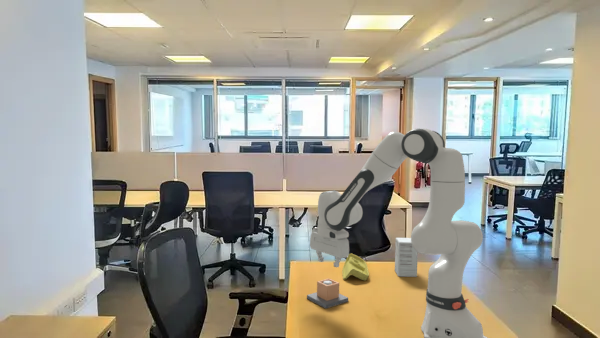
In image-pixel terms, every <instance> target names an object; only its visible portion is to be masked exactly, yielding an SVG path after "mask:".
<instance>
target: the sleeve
mask: <svg viewBox="0 0 600 338" xmlns="http://www.w3.org/2000/svg"><path fill="white" fill-rule="evenodd" d="M324 281H331V282H332V284H331V285H326V284H323V282H324ZM316 292H317V296H319V297H321V298H322V299H324V300H326V301H328V300H331V299H335V298H338V297H339V294H340V282H338V281H336V280H333V279H331V278H325V279H322V280H318V281H316Z"/></svg>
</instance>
